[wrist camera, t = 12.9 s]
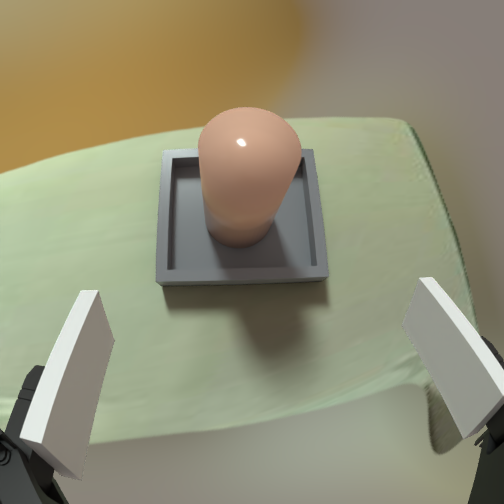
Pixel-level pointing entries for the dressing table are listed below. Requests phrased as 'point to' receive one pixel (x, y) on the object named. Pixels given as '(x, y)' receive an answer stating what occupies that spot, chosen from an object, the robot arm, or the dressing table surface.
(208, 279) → the tray
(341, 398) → the dressing table surface
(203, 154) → the peach domed cylinder
